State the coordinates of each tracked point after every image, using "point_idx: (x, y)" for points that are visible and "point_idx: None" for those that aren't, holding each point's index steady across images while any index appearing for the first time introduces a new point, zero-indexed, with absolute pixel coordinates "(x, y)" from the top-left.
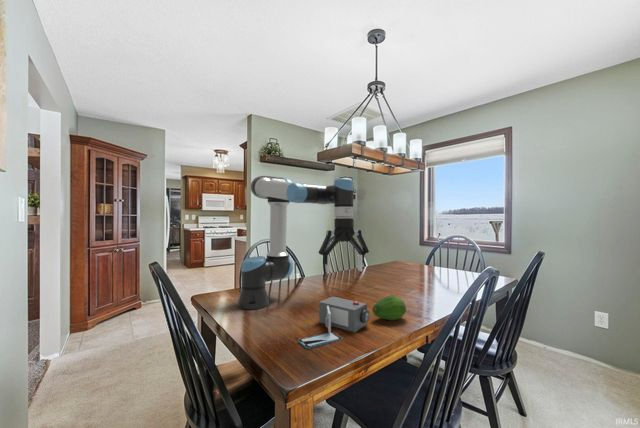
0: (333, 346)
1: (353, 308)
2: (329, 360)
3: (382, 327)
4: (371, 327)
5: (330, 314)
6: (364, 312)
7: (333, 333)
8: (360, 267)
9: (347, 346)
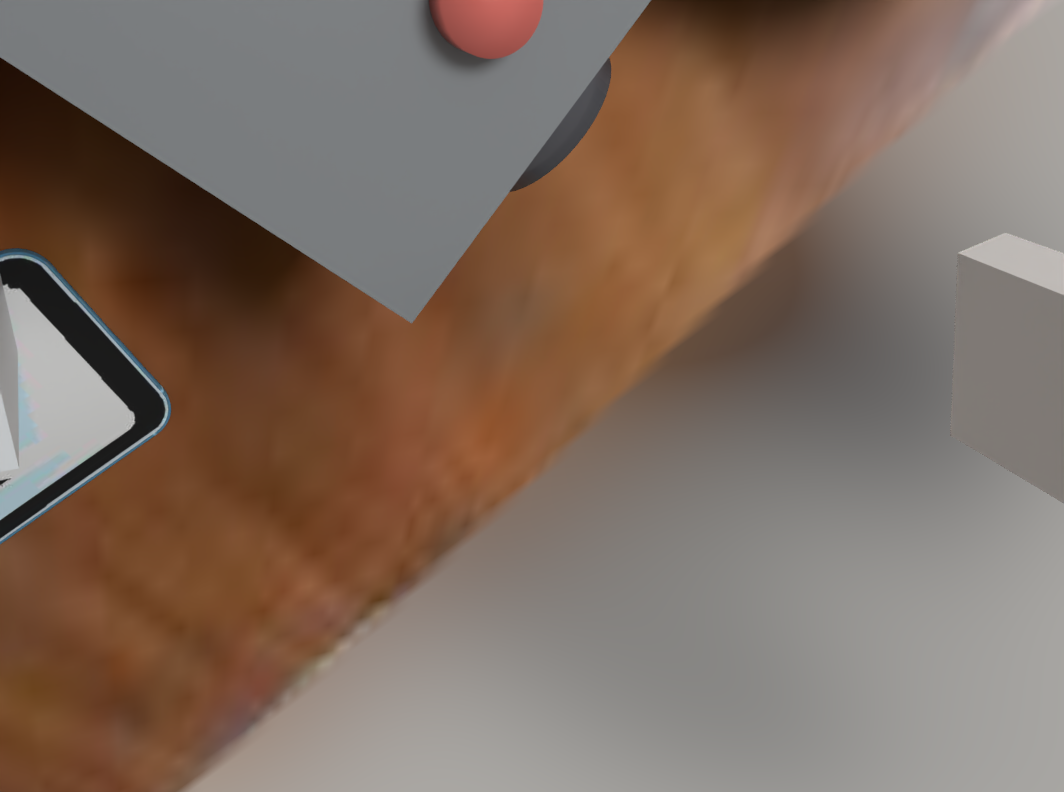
0: (75, 569)
1: (403, 246)
2: (56, 785)
3: (658, 64)
4: None
5: (12, 466)
6: (540, 171)
7: (51, 298)
8: (1049, 482)
9: (222, 543)
